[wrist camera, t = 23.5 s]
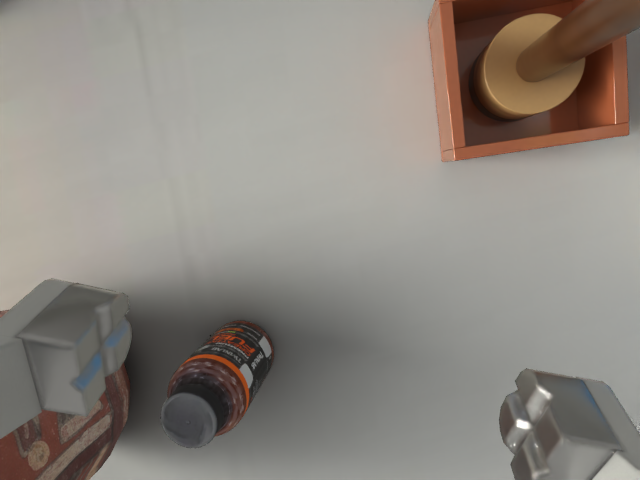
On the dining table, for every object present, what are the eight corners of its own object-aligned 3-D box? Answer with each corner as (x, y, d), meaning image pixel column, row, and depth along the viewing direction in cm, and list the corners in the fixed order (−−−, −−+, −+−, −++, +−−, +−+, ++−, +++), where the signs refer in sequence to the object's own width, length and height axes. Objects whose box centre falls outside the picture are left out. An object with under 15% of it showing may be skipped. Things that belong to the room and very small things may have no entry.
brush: (537, 94, 34) (549, 248, 25) (462, 80, 34) (449, 226, 26) (682, -165, 21) (805, -30, 12) (559, -180, 21) (597, -61, 13)
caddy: (586, 140, 31) (630, 135, 26) (442, 161, 33) (454, 160, 28) (578, -10, 30) (623, -50, 24) (427, 20, 32) (437, -10, 26)
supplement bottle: (275, 319, 37) (231, 383, 26) (276, 381, 38) (234, 467, 27) (211, 316, 38) (142, 376, 27) (213, 376, 39) (149, 459, 28)
